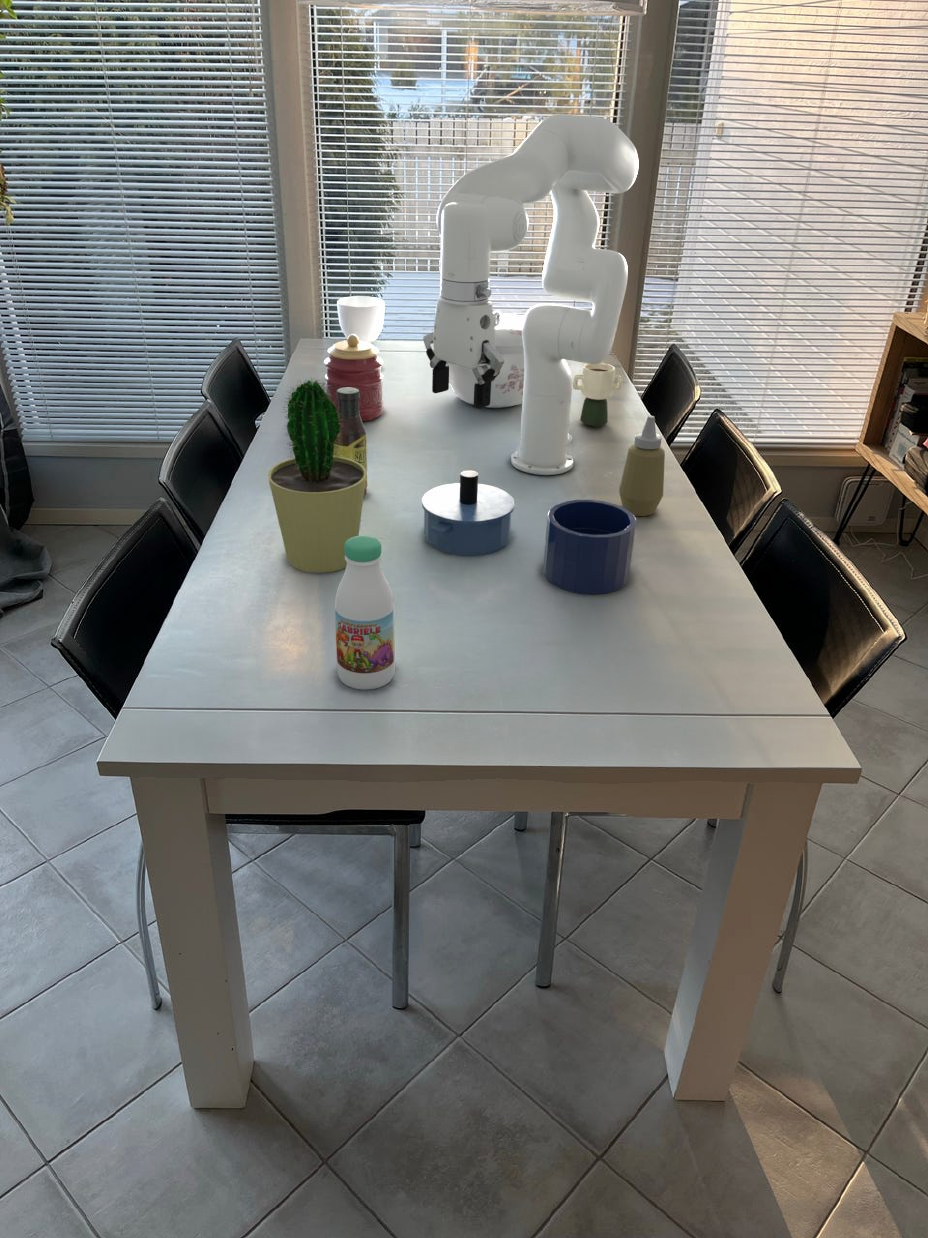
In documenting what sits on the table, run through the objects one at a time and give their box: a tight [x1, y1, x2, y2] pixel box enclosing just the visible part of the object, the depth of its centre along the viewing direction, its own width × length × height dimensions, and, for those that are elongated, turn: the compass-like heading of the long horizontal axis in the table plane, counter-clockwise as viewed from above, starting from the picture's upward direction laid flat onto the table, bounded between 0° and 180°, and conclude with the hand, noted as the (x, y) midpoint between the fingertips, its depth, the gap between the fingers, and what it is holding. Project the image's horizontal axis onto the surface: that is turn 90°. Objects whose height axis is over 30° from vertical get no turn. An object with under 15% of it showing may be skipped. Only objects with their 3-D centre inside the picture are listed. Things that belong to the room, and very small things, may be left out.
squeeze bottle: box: [618, 415, 666, 517], centre depth 174 cm, size 8×8×18 cm
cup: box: [336, 295, 385, 344], centre depth 243 cm, size 12×12×17 cm
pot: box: [542, 499, 637, 595], centre depth 154 cm, size 14×14×10 cm
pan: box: [423, 509, 512, 556], centre depth 166 cm, size 15×20×6 cm
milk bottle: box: [334, 535, 396, 691], centre depth 125 cm, size 8×8×20 cm
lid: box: [421, 469, 516, 524], centre depth 163 cm, size 16×16×6 cm
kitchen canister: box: [323, 335, 385, 422], centre depth 215 cm, size 13×13×18 cm
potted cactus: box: [267, 378, 368, 574], centre depth 151 cm, size 15×15×30 cm
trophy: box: [572, 362, 623, 427], centre depth 214 cm, size 11×7×13 cm, turn 95°
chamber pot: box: [446, 310, 525, 409], centre depth 225 cm, size 28×28×21 cm
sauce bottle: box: [333, 387, 368, 497], centre depth 176 cm, size 7×6×20 cm
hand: (460, 398), depth 157 cm, fingers open, 9 cm apart
